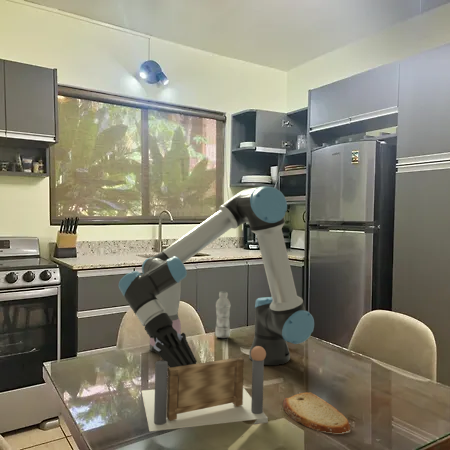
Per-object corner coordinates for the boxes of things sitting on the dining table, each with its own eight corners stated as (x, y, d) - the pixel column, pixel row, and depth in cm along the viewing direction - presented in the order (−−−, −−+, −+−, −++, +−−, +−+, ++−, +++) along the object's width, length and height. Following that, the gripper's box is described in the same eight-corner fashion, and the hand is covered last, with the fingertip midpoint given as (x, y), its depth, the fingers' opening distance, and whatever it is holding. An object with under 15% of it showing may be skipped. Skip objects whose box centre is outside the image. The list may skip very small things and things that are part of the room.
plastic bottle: (228, 340, 179) (229, 293, 178) (213, 339, 180) (214, 293, 180) (231, 336, 185) (232, 291, 185) (216, 335, 186) (217, 290, 186)
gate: (169, 420, 103) (170, 370, 103) (166, 416, 105) (167, 368, 105) (242, 404, 113) (243, 359, 113) (238, 401, 115) (240, 357, 115)
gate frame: (240, 385, 130) (242, 326, 130) (269, 422, 107) (271, 350, 107) (141, 394, 122) (142, 331, 121) (149, 436, 99) (151, 358, 98)
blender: (184, 345, 170) (186, 267, 170) (176, 354, 158) (178, 270, 158) (146, 342, 172) (148, 265, 172) (136, 352, 160) (138, 269, 160)
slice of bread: (352, 438, 101) (352, 423, 101) (277, 427, 105) (278, 413, 105) (348, 406, 118) (348, 393, 118) (284, 398, 122) (285, 385, 122)
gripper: (161, 322, 126) (206, 390, 118) (131, 332, 114) (179, 408, 106) (176, 307, 123) (223, 376, 115) (147, 316, 112) (197, 392, 104)
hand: (202, 391), depth 111 cm, fingers closed
